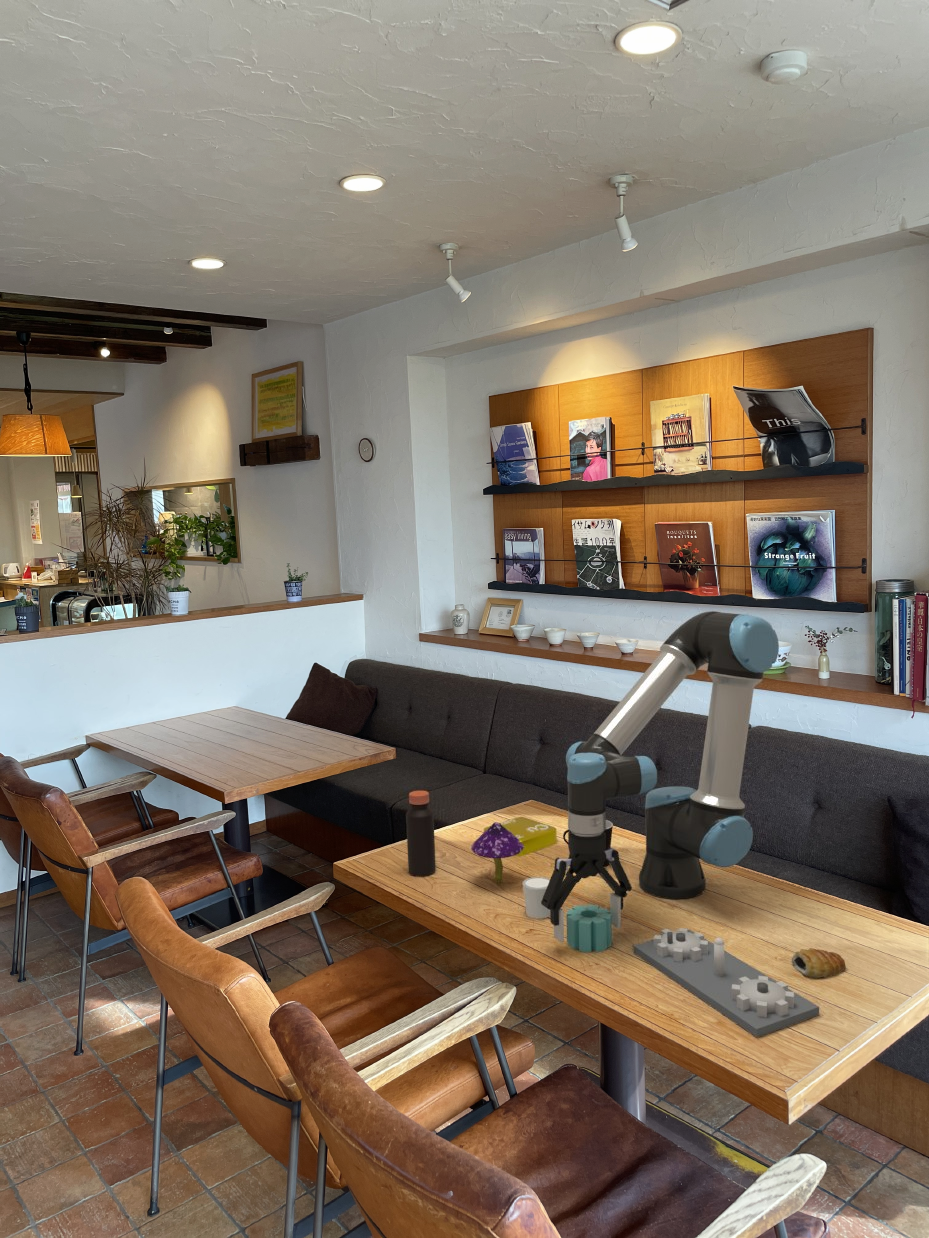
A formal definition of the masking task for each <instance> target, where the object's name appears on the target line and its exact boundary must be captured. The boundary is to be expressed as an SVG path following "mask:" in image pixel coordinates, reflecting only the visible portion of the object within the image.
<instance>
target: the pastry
mask: <svg viewBox="0 0 929 1238" xmlns="http://www.w3.org/2000/svg"><path fill="white" fill-rule="evenodd" d="M790 962H791V963H792V965H793V967H794V969H795V970H796V971H798V972H800V973H801V974H802V975H804V976H805V977H808V978H811V979H812V978H813V979H820V978H821V977H824V978H828V976H829V977H831V976H834V974H835V975H838V974H840V973H842V972H843V971H844V970H845V968H846V961H845V959H844V958H843V956H841V955H840V954H839V953H837V952H834V951H828V950H824V949H816V948H811V947H810V948H808V949H805V948H802V949H800V950H799V951H795V953H794V954H793V955H792V957H791V961H790ZM839 972H840V973H839Z"/></svg>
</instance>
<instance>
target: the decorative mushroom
mask: <svg viewBox="0 0 929 1238" xmlns="http://www.w3.org/2000/svg"><path fill="white" fill-rule="evenodd" d="M500 823H501V822H498V821H496V822H493V824H492V825H490V827H489V826H488V827H489V828H488V829H487V830H486V831H485V832H484V831H483V833H482V834H481V835H480V836H479V837H478V838H477V839H476V840H474V842H473V843H472V845H471V848H470V849H471V850H472V852H473V854H475V855H476V856H479V857H482V858H487V859H492V860H493V862H494V867H495V869H494V882H495V884H502V883H503V871H504V866H503V861H502V859H504V858H510V857H514V856H515V855H517V854H519V853H520V852H521V851H522V850H523V848H524V845H523V844H522V843H521V842H520V841H519V840H518V839H517V837H516V836H515V835H513V834H512V833H511V832H510V831H509V830H507V829H506V828H505V827H503V826H502V825H501V824H500ZM515 857H516V856H515Z"/></svg>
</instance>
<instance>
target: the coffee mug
mask: <svg viewBox="0 0 929 1238" xmlns="http://www.w3.org/2000/svg"><path fill="white" fill-rule="evenodd" d="M613 827H614V824H613V822H612V821H610V820H608V819H606V829H605V831H604V832H605V833H606V849H605V851H607V848H608V847H611V846H612V836H613V835H612V833H613ZM569 831H570V830H569V829H566V830H565V831H564V832H563V835H562V838H563V840H564V842H565V843H566V844H567V845H568V839H566V834H568V832H569ZM611 848H612V847H611ZM609 865H610V863H609V861H608V859H607V858H606V860H605V862H604V864H603V866H604V867H605V868H606V867H608V866H609Z"/></svg>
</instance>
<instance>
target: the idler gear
mask: <svg viewBox="0 0 929 1238" xmlns="http://www.w3.org/2000/svg"><path fill="white" fill-rule="evenodd" d="M565 916H566V918H565V921H566V942H567V946H569V947H570V948H572V949H573V950H577V949H578V951H579V952H583V953H590V954H591V953H592V952H593V951H594V952H595V953H600V952H604V951H606V950H607V949H608V948H611V945H612V944H613V925H612V914H610V909H607V908H606V907H605V906H602V907H600V905H597V904H586V906H585V905H583V904H579V905H576V906H572V907H571V909H570V908H568V911H566V914H565Z"/></svg>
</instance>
